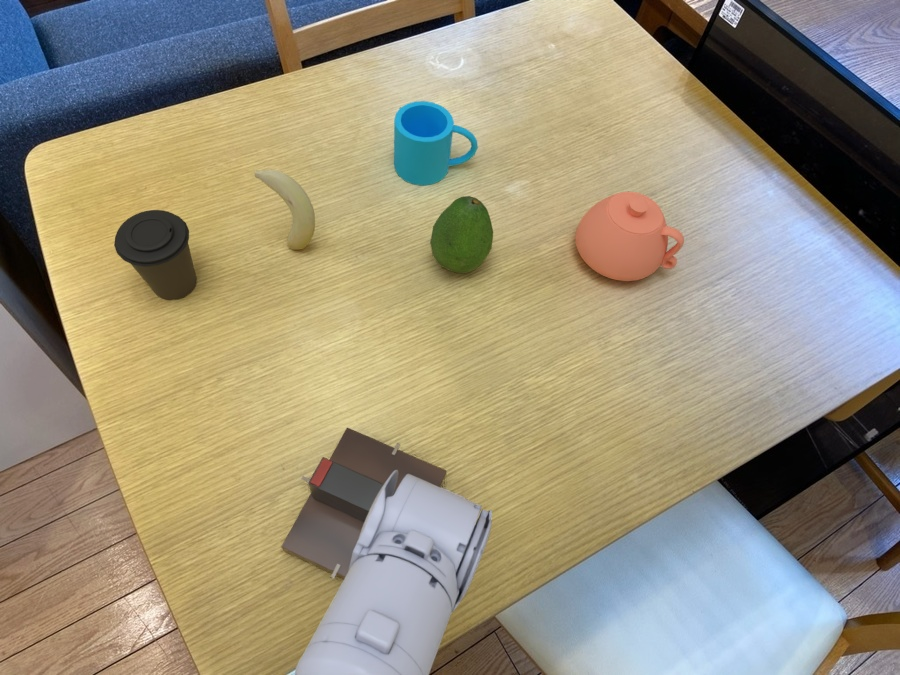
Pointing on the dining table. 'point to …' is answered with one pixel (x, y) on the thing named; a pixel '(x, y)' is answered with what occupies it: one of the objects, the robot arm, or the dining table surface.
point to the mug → (426, 142)
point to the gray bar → (344, 489)
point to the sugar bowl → (626, 237)
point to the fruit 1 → (292, 206)
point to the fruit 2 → (462, 235)
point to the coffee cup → (158, 252)
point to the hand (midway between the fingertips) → (411, 597)
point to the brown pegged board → (336, 533)
